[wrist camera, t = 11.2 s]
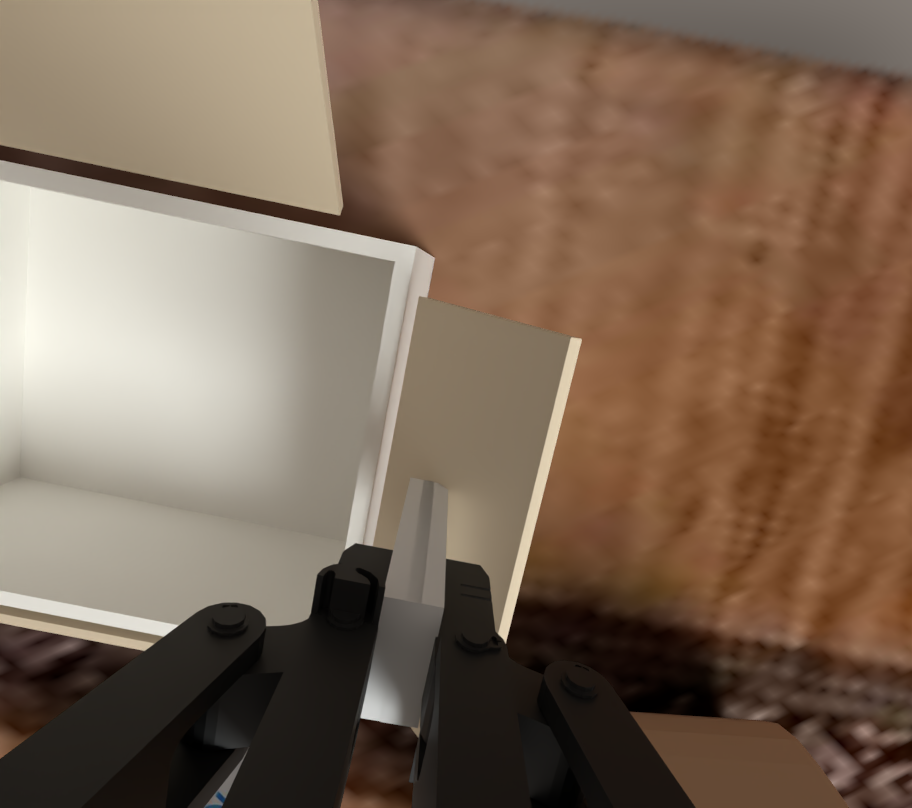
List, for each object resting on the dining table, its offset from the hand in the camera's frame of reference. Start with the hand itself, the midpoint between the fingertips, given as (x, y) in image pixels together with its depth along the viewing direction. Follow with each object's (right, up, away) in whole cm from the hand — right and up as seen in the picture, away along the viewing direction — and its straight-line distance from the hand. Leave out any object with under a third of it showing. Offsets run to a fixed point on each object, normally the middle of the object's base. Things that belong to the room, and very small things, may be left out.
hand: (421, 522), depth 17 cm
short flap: (+1, 0, 0) cm, 1 cm away
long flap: (-10, +12, -3) cm, 16 cm away
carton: (-11, +5, +12) cm, 17 cm away
